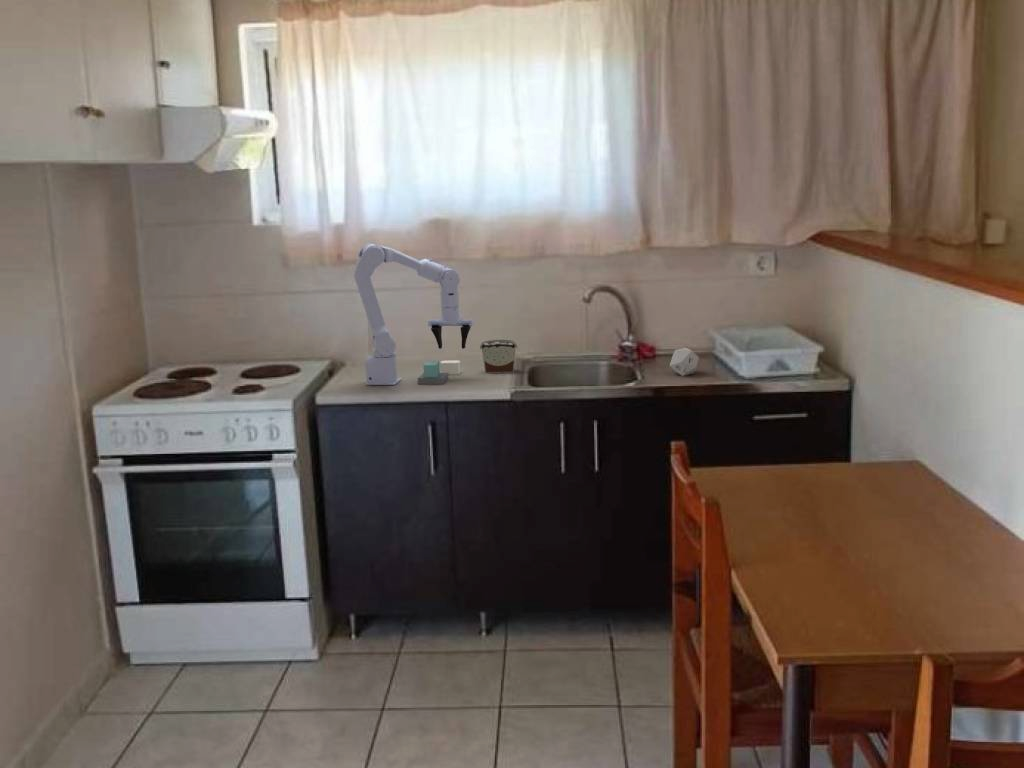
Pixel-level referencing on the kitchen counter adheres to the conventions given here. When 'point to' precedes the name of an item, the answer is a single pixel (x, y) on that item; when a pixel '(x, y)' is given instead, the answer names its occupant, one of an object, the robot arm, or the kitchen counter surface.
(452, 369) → the cream brick
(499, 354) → the food container
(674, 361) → the die
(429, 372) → the teal brick
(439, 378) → the charcoal slab
